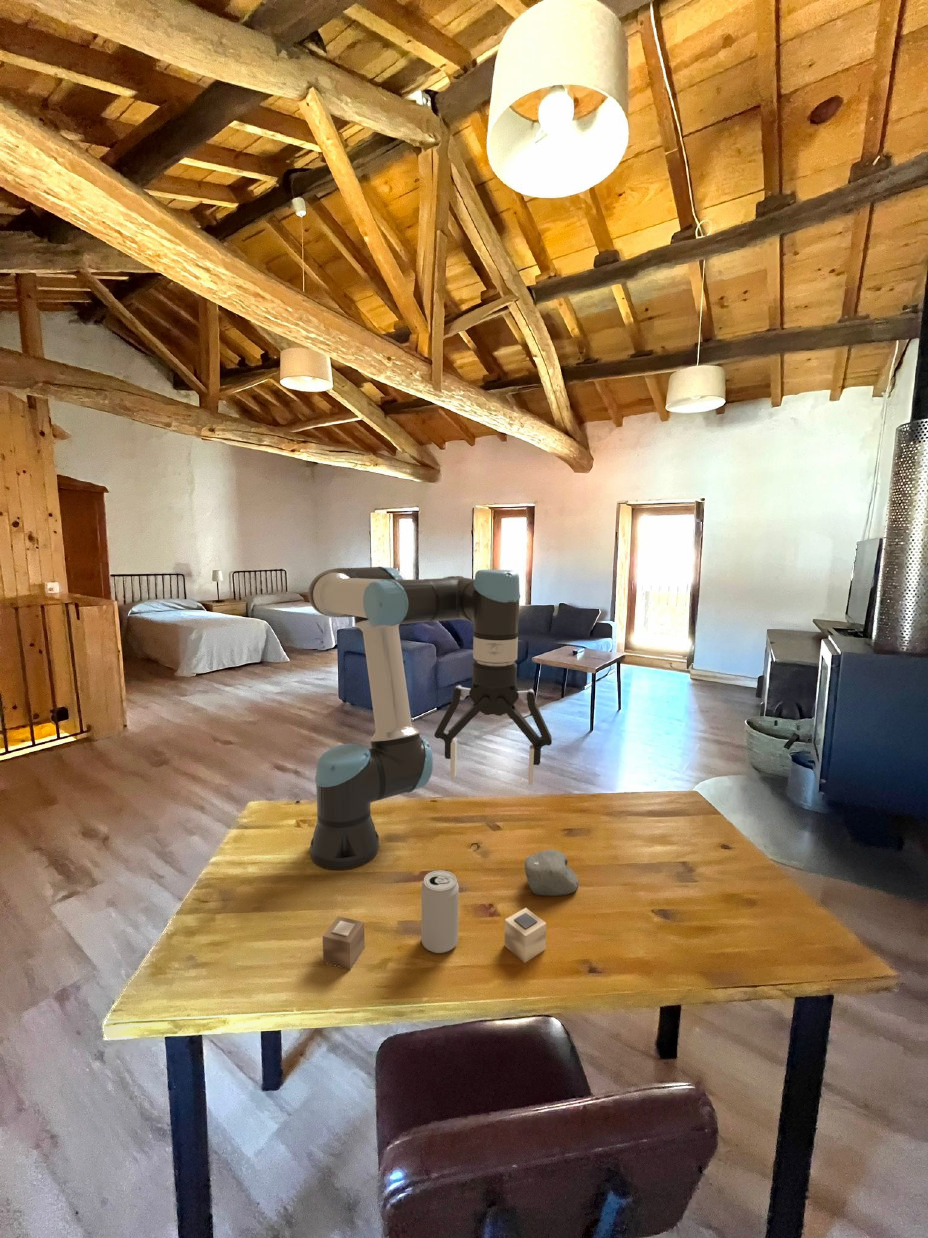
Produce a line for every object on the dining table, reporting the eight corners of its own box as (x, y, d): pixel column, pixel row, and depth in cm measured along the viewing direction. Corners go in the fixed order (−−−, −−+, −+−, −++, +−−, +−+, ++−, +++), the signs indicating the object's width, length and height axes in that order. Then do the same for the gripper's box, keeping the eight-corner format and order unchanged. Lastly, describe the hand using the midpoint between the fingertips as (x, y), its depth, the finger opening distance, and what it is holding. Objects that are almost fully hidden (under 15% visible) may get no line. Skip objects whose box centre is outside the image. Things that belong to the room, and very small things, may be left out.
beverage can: (421, 930, 97) (421, 869, 95) (456, 929, 98) (457, 867, 96) (421, 957, 91) (421, 892, 89) (459, 955, 91) (460, 890, 90)
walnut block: (323, 963, 89) (322, 935, 89) (338, 942, 94) (337, 915, 93) (350, 970, 88) (349, 941, 87) (364, 948, 93) (364, 921, 92)
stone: (585, 901, 105) (562, 858, 104) (543, 919, 106) (521, 877, 105) (577, 873, 114) (556, 833, 113) (539, 890, 115) (518, 851, 114)
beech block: (504, 946, 94) (505, 918, 93) (524, 933, 97) (525, 906, 96) (524, 963, 90) (525, 935, 89) (545, 949, 93) (546, 922, 92)
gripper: (418, 662, 90) (417, 782, 93) (570, 670, 87) (564, 794, 90) (427, 653, 97) (426, 764, 100) (567, 659, 94) (562, 774, 97)
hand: (491, 778), depth 95 cm, fingers open, 13 cm apart
